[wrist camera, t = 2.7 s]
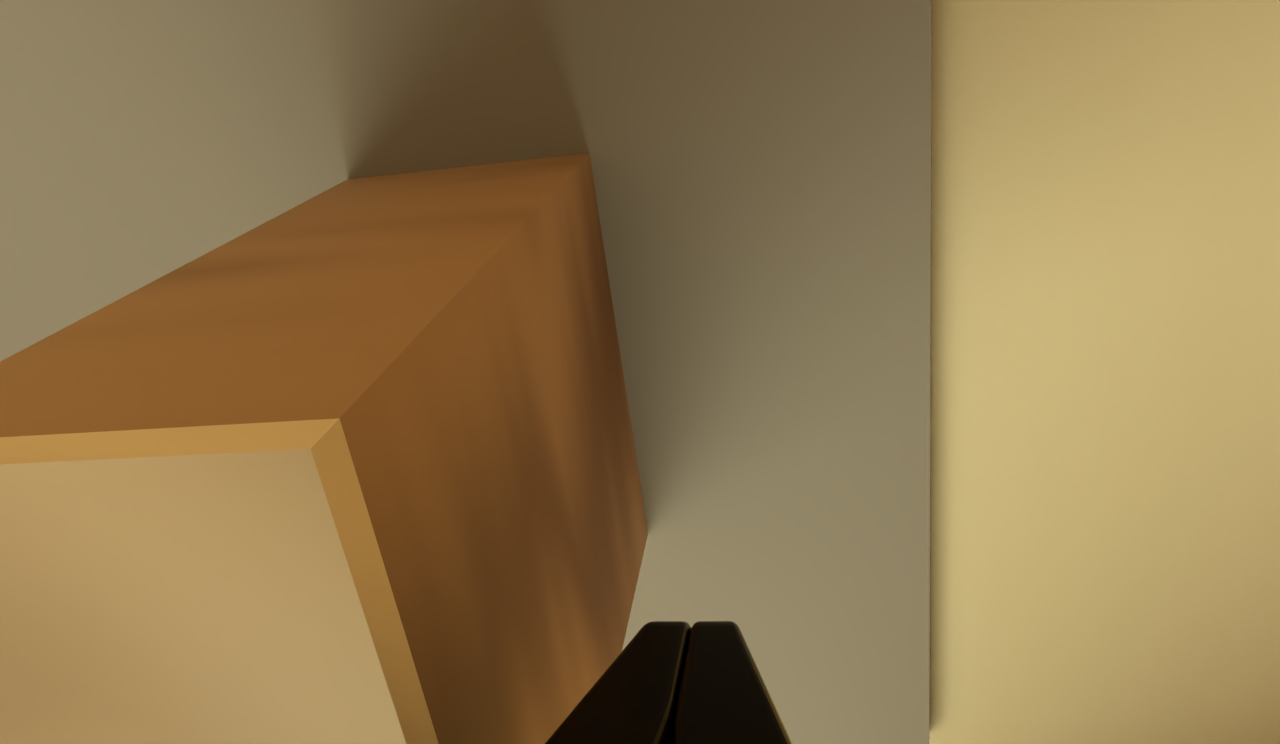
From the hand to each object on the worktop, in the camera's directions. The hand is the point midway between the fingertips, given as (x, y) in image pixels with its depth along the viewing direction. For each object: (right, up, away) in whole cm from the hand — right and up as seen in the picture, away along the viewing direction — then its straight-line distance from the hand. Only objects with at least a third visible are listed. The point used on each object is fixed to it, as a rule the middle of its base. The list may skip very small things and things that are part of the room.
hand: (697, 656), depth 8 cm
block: (-3, +3, +7) cm, 8 cm away
